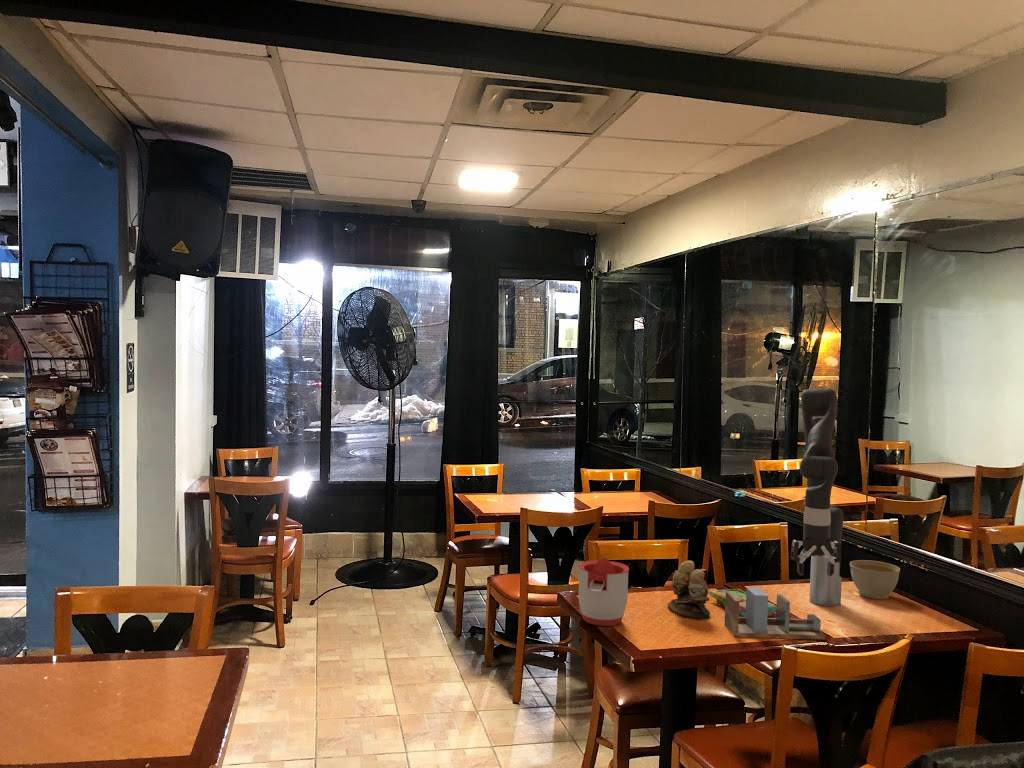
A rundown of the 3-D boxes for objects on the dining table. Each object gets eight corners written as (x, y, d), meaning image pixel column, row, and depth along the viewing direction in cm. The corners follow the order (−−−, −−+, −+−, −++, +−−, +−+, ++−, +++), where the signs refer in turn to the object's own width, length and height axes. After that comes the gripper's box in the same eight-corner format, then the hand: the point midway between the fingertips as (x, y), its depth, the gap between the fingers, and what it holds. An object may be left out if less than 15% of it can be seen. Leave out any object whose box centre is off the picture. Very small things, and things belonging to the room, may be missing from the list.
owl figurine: (721, 619, 239) (723, 566, 239) (689, 623, 235) (691, 569, 235) (689, 602, 256) (690, 552, 256) (658, 605, 252) (660, 554, 251)
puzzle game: (745, 606, 239) (709, 588, 258) (745, 621, 239) (709, 602, 258) (776, 603, 243) (738, 586, 262) (775, 618, 243) (738, 599, 262)
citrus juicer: (568, 626, 228) (570, 560, 228) (584, 610, 244) (586, 548, 244) (619, 634, 222) (621, 567, 222) (632, 617, 238) (634, 554, 238)
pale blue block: (758, 623, 233) (759, 587, 232) (766, 632, 225) (768, 595, 224) (745, 623, 233) (746, 587, 232) (753, 632, 225) (754, 595, 224)
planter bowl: (843, 588, 280) (844, 558, 280) (889, 591, 278) (890, 561, 277) (856, 600, 264) (858, 570, 264) (905, 604, 262) (907, 573, 262)
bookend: (811, 624, 232) (812, 595, 232) (821, 632, 225) (823, 602, 225) (775, 623, 232) (776, 594, 232) (784, 631, 225) (785, 601, 225)
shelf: (811, 627, 234) (813, 593, 233) (825, 639, 224) (826, 603, 223) (724, 625, 234) (725, 591, 233) (734, 636, 224) (735, 601, 223)
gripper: (835, 520, 232) (833, 572, 232) (788, 518, 232) (787, 571, 233) (845, 525, 224) (844, 579, 225) (797, 524, 225) (795, 578, 225)
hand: (815, 575), depth 229 cm, fingers open, 8 cm apart
